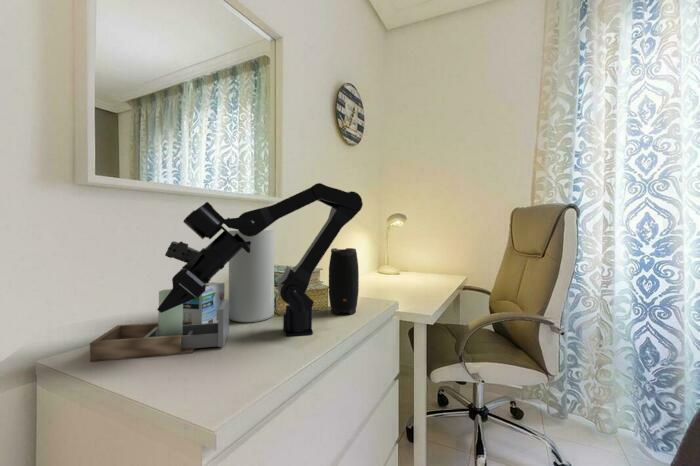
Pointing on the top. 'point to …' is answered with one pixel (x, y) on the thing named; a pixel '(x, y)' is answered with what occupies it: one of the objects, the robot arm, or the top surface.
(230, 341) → the top surface
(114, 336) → the dock
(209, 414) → the top surface
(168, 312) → the pale green cylinder
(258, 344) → the top surface
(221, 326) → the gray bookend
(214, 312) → the light bulb box
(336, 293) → the portable speaker
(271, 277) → the cylinder vase
